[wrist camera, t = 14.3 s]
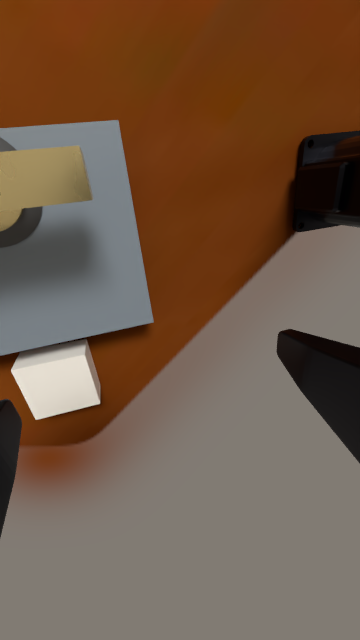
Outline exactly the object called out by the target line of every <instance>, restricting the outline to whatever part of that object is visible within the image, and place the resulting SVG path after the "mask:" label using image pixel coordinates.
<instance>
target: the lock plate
mask: <svg viewBox="0 0 360 640" xmlns="http://www.w3.org/2000/svg"><path fill="white" fill-rule="evenodd" d="M66 146H80V148H81V150H82V152H83V155H84V160H85V164H86V168H87V172H88V177H89V181H90V185H91V189H92V193H93V198H94V199H93V200H90V201H82V202H73V203H65V204H57V205H48V206H40V207H32V208H24V210H23V213H22V215H21V217H20V219H19V220H18V221H17V222H16V223H15V224H14V225H13V226H11V227H10V228H8V229H6V230H3V231H0V356H1V355H6V354H10V353H15V352H20V351H24V350H29V349H33V348H38V347H43V346H47V345H52V344H56V343H61V342H65V341H70V340H75V339H79V338H84V337H88V336H93V335H98V334H102V333H107V332H111V331H116V330H121V329H125V328H130V327H134V326H139V325H143V324H148V323H153V316H152V311H151V305H150V299H149V294H148V288H147V282H146V276H145V271H144V265H143V259H142V254H141V248H140V242H139V236H138V231H137V225H136V219H135V214H134V208H133V202H132V197H131V191H130V185H129V179H128V174H127V168H126V162H125V157H124V151H123V145H122V139H121V134H120V128H119V122H118V120H113V121H99V122H85V123H71V124H57V125H43V126H28V127H14V128H0V152H5V151H17V150H30V149H42V148H54V147H66Z"/></svg>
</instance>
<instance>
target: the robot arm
mask: <svg viewBox="0 0 360 640" xmlns="http://www.w3.org/2000/svg"><path fill="white" fill-rule="evenodd" d="M308 142H310V146H309V148H308V145H307V144H308ZM294 206H295V207H294V217H293V230H294V231H297V232H304V231H309V230H315V229H321V228H327V227H333V226H338V225H347V226H354V227H360V131H352V132H341V133H331V134H320V135H311V136H307V137H305V138H304V139H303V140H302V142H301V148H300V158H299V168H298V175H297V185H296V195H295V205H294ZM300 223H301V226H300V227H298V226H299V224H300ZM277 355H278V357H279V358H280V360H281V362H282V363H283V365H284V366H285V368H286V369H287V371H288V372H289V374H290V375H291V377H292V378H293V380H294V381H295V383H296V384H297V386H298V387H299V389H300V390H301V391H302V393H303V394H304V395H305V397H306V398H307V399H308V400H309V402H310V403H311V404H312V405H313V406H314V408H315V409H316V410H317V411H318V413H319V414H320V415H321V416H322V417H323V419H324V420H325V421H326V422H327V424H328V425H329V426H330V427H331V429H332V430H333V431H334V432H335V433H336V435H337V436H338V437H339V438H340V440H341V441H342V442H343V443H344V445H345V446H346V447H347V448H348V450H349V451H350V452H351V453H352V454H353V456H354V457H355V458H356V459H357V461H358V462H359V463H360V348H359V347H355V346H351V345H348V344H344V343H340V342H337V341H333V340H329V339H326V338H322V337H318V336H314V335H311V334H307V333H303V332H300V331H296V330H292V329H288V330H284V331H281V332H279V334H278V341H277ZM21 428H22V421H21V417H20V416H19V414H18V412H17V410H16V409H15V407H14V405H13V403H12V402H11V401H10V400H8V399H5V400H0V537H1V533H2V529H3V524H4V521H5V516H6V512H7V508H8V504H9V499H10V495H11V492H12V487H13V483H14V479H15V473H16V467H17V459H18V452H19V444H20V436H21Z"/></svg>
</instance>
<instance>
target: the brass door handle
mask: <svg viewBox="0 0 360 640" xmlns="http://www.w3.org/2000/svg"><path fill="white" fill-rule="evenodd" d="M93 199H94V198H93V193H92V189H91V185H90V181H89V177H88V172H87V168H86V164H85V160H84V155H83V152H82V150H81V148H80V146H66V147H54V148H42V149H30V150H17V151H5V152H0V231H3V230H6V229H8V228H10V227H11V226H13V225H14V224H15V223H16V222H17V221H18V220H19V219H20V217H21V215H22V213H23V210H24V208H32V207H40V206H48V205H57V204H65V203H73V202H82V201H90V200H93Z"/></svg>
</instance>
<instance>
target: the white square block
mask: <svg viewBox="0 0 360 640" xmlns="http://www.w3.org/2000/svg"><path fill="white" fill-rule="evenodd" d="M11 372H12V374H13V376H14V378H15V380H16V382H17V384H18V386H19V388H20V390H21V392H22V394H23V396H24V398H25V400H26V401H27V403H28V405H29V407H30V409H31V411H32V413H33V415H34V417H35V419H36V420H38V419H42V418H46V417H50V416H54V415H57V414H61V413H65V412H69V411H73V410H77V409H81V408H85V407H89V406H93V405H97V404H100V386H101V385H100V382H99V379H98V375H97V372H96V369H95V365H94V362H93V359H92V356H91V352H90V349H89V346H88V342H87V339H83V340H78V341H73V342H68V343H63V344H58V345H53V346H48V347H43V348H38V349H33V350H28V351H23V352H20V353H19V355H18V357H17V359H16V361H15V363H14V365H13V367H12V369H11Z"/></svg>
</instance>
